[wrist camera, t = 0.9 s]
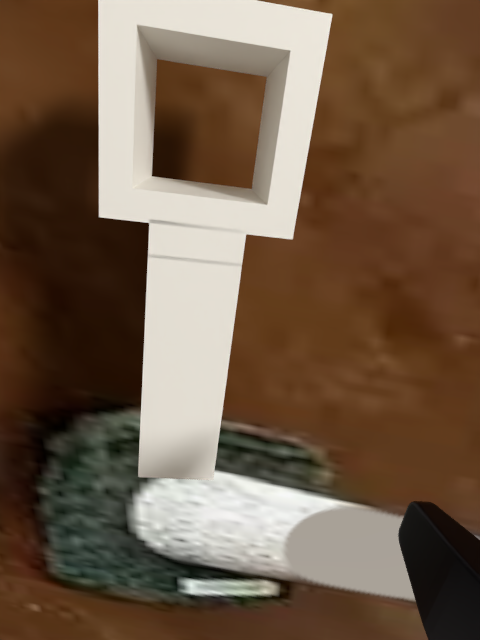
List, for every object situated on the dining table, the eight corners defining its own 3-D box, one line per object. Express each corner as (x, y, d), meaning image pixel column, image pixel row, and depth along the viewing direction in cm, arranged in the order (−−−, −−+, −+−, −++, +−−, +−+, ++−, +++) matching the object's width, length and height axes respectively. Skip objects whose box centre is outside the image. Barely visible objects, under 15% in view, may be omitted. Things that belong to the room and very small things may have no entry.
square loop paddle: (137, 358, 21) (99, 475, 14) (148, 50, 16) (98, -29, 9) (234, 366, 22) (249, 481, 14) (276, 71, 16) (332, 13, 9)
